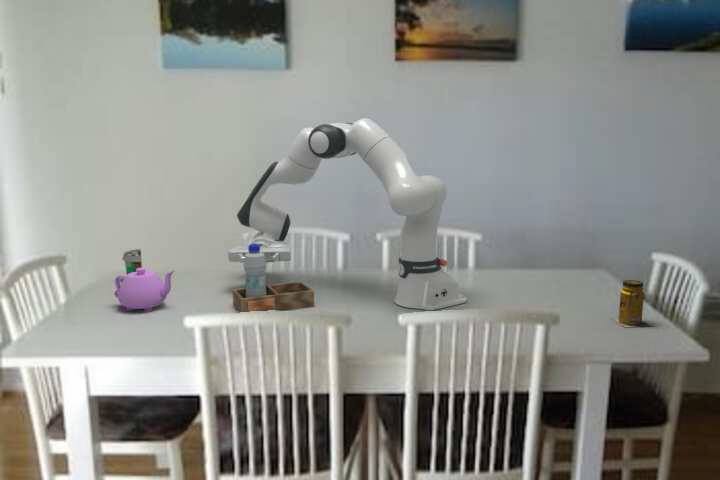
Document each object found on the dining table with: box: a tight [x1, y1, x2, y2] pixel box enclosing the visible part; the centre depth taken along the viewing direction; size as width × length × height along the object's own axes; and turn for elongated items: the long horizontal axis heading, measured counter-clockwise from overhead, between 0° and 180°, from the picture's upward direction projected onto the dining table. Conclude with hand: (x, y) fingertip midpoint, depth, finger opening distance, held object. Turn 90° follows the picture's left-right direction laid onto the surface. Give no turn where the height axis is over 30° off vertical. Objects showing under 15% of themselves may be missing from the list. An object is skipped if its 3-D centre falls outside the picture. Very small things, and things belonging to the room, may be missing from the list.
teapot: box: [114, 267, 176, 312], centre depth 200 cm, size 20×14×12 cm
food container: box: [121, 248, 143, 275], centre depth 231 cm, size 12×6×10 cm, turn 17°
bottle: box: [243, 244, 267, 298], centre depth 198 cm, size 7×7×20 cm
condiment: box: [613, 279, 654, 328], centre depth 183 cm, size 7×8×12 cm
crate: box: [232, 281, 315, 313], centre depth 201 cm, size 22×12×5 cm, turn 113°
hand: (257, 259), depth 208 cm, fingers open, 8 cm apart
